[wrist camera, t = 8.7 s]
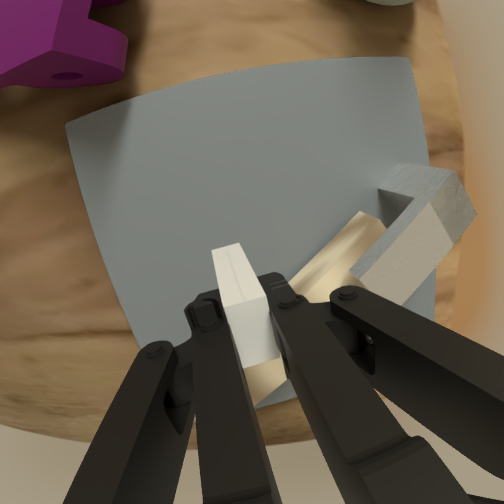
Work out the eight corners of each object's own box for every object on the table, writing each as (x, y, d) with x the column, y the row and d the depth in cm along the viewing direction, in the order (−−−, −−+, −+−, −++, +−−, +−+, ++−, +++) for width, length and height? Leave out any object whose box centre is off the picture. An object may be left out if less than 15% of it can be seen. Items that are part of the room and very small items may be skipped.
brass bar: (217, 410, 27) (220, 433, 24) (174, 383, 25) (172, 407, 23) (391, 252, 25) (411, 264, 22) (357, 208, 23) (377, 216, 20)
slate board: (181, 415, 29) (180, 425, 28) (72, 125, 20) (64, 123, 19) (424, 336, 31) (431, 343, 30) (398, 60, 22) (408, 56, 21)
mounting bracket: (11, 109, 23) (146, 77, 18) (-57, 110, 15) (51, 51, 11) (26, 26, 20) (166, -32, 16) (-36, 15, 13) (94, -83, 8)
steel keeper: (350, 279, 25) (391, 316, 19) (321, 247, 24) (359, 279, 18) (424, 198, 24) (477, 214, 18) (400, 163, 23) (454, 170, 17)
